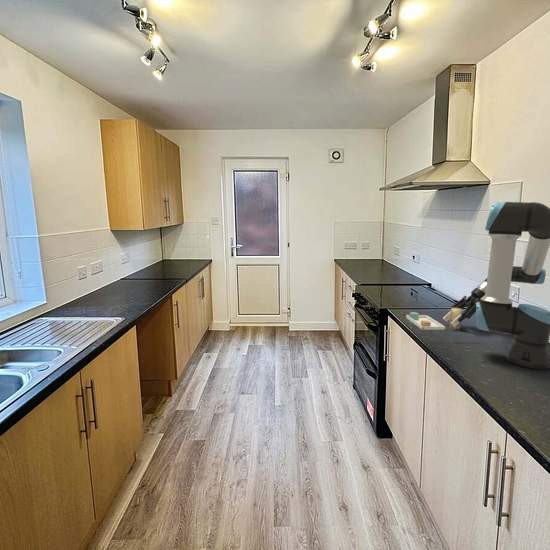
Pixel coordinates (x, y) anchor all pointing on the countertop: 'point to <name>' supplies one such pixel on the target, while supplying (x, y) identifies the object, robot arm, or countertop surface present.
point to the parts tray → (434, 324)
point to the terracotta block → (425, 323)
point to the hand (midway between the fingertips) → (448, 322)
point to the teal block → (414, 315)
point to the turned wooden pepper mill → (454, 314)
